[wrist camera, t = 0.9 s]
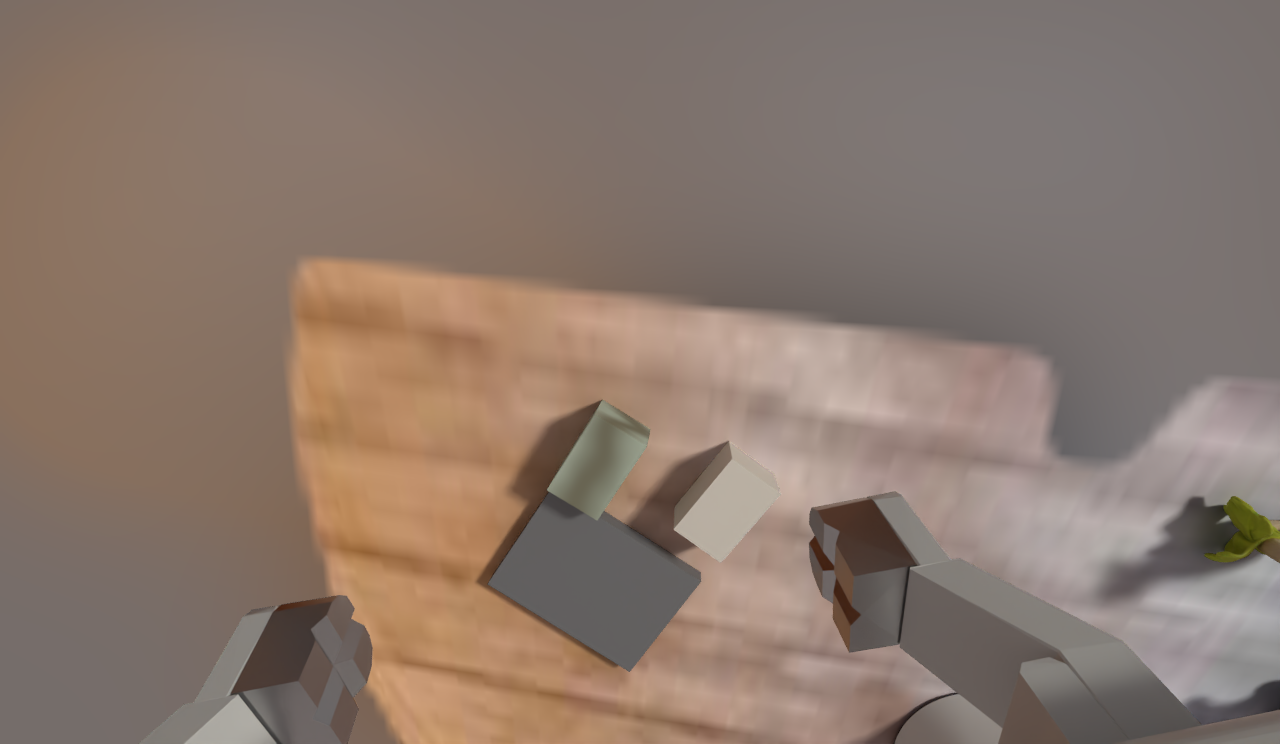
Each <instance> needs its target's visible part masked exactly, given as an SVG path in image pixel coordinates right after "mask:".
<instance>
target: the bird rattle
mask: <svg viewBox="0 0 1280 744" xmlns="http://www.w3.org/2000/svg"><path fill="white" fill-rule="evenodd" d="M1223 508H1224V511H1225V513H1226V514H1227V515H1228V516H1229V517H1230V519H1231V521H1232V523H1233V524H1234V526H1235V527H1236V528H1237V529H1239V530H1240V531H1238V532H1236V533H1235V534H1234V535H1233V537H1232V539H1231V540H1230V541H1229V542H1228V543H1227V544H1226V546H1225V549H1224V551H1223V552H1218V553H1216V554H1213V553H1206V554H1204V556H1205V557H1207V558H1208V559H1210V560H1213V561H1218V562H1234V561H1236V560H1239V559H1242V558H1245V557H1247V556H1249V555H1250V554H1251V552H1252V551H1253V550H1254V549H1256V550H1257V551H1258V552H1260V553H1262V554H1266V555H1267V556H1269V557H1270V558H1272V559H1274V560H1275V561H1277V562H1279V563H1280V521H1279V520H1268V519H1267V518H1266V517H1265V516H1261V515H1259V514H1258V513H1257V512H1255V511H1254V510H1253V508H1252V507H1251V506H1250V505H1249V504H1247V503H1246V502H1244V501H1243V500H1241V499H1240V498H1238V497H1236V496H1232V497H1231V499H1230V500H1229V501H1228V503H1227V505H1224V506H1223Z"/></svg>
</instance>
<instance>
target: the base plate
mask: <svg viewBox="0 0 1280 744" xmlns="http://www.w3.org/2000/svg"><path fill="white" fill-rule="evenodd" d="M700 582H701V572H699V571H698V570H696V569H695V568H693V567H691V566H690V565H688V564H687V563H685V562H684V561H682V560H680V559H679V558H677V557H676V556H674V555H672V554H671V553H669V552H668V551H666V550H665V549H663V548H661V547H660V546H658V545H657V544H655V543H654V542H652V541H650V540H649V539H647V538H646V537H644V536H643V535H641V534H639V533H638V532H636V531H635V530H633V529H632V528H630V527H628V526H627V525H625V524H624V523H622V522H621V521H619V520H617V519H616V518H614V517H613V516H611V515H610V514H608V513H606V512H605V511H603V513H602V514H601V516H600V517H599V519H598V520H595V519H594V518H592V517H590V516H589V515H587V514H585V513H584V512H582V511H580V510H579V509H577V508H575V507H574V506H572V505H571V504H569V503H567V502H566V501H564V500H562V499H561V498H559V497H557V496H556V495H554V494H552V493H551V492H548V494H547V495H546V497H545V498H544V500H543V501H542V503H541V504H540V506H539V507H538V508H537V510H536V511H535V513H534V514H533V516H532V517H531V519H530V520H529V522H528V523H527V525H526V526H525V528H524V529H523V531H522V532H521V534H520V535H519V537H518V538H517V540H516V541H515V543H514V544H513V546H512V547H511V549H510V550H509V552H508V553H507V555H506V556H505V558H504V559H503V561H502V562H501V564H500V565H499V567H498V568H497V570H496V571H495V573H494V574H493V576H492V577H491V579H490V581H489V583H488V585H490V586H491V587H493V588H494V589H496V590H498V591H499V592H501V593H503V594H504V595H506V596H507V597H509V598H511V599H512V600H514V601H516V602H517V603H519V604H520V605H522V606H524V607H525V608H527V609H528V610H530V611H532V612H533V613H535V614H537V615H538V616H540V617H541V618H543V619H545V620H546V621H548V622H550V623H551V624H553V625H554V626H556V627H558V628H559V629H561V630H562V631H564V632H566V633H567V634H569V635H571V636H572V637H574V638H575V639H577V640H579V641H580V642H582V643H583V644H585V645H587V646H588V647H590V648H592V649H593V650H595V651H596V652H598V653H600V654H601V655H603V656H605V657H606V658H608V659H609V660H611V661H613V662H614V663H616V664H617V665H619V666H621V667H622V668H624V669H626V670H627V671H629V672H630V671H631V670H632V668H633V667H634V666H635V665H636V663H637V662H638V661H639V660H640V658H641V657H642V656H643V655H644V653H645V652H646V651H647V649H648V648H649V647H650V646H651V644H652V643H653V642H654V641H655V639H656V638H657V637H658V635H659V634H660V633H661V632H662V630H663V629H664V628H665V627H666V625H667V624H668V623H669V622H670V620H671V619H672V618H673V616H674V615H675V614H676V613H677V611H678V610H679V609H680V608H681V606H682V605H683V604H684V603H685V601H686V600H687V599H688V597H689V596H690V595H691V594H692V592H693V591H694V590H695V589H696V587H697V586H698V585H699V583H700Z"/></svg>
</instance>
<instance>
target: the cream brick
mask: <svg viewBox="0 0 1280 744" xmlns="http://www.w3.org/2000/svg"><path fill="white" fill-rule="evenodd" d="M780 495H781V492H780V489H779V486H778V483H777V481H776V478H775V475H774V473H773V472H772V471H770V470H769V469H767V468H766V467H765V466H763V465H762V464H760V463H759V462H758V461H756V460H755V459H754V458H752V457H751V456H749V455H748V454H747V453H745V452H744V451H742V450H741V449H740V448H738V447H737V446H736V445H734V444H733V443H731V442H730V441H728V442H727V444H726V445H725V446H724V447H723V448H722V450H721V451H720V452H719V453H718V455H717V456H716V457H715V458H714V459H713V461H712V462H711V463H710V464H709V465H708V467H707V468H706V469H705V470H704V472H703V473H702V474H701V475H700V476H699V478H698V479H697V480H696V481H695V482H694V484H693V485H692V486H691V487H690V489H689V490H688V491H687V492H686V493H685V495H684V496H683V497H682V498H681V500H680V501H679V502H678V503H677V504H676V506H675V511H674V529H673V530H675V531H676V532H678V533H679V534H680V535H682V536H683V537H685V538H686V539H688V540H689V541H690V542H692V543H693V544H695V545H696V546H697V547H699V548H700V549H702V550H703V551H705V552H706V553H707V554H709V555H710V556H712V557H713V558H715V559H716V560H717V561H719V562H720V563H721V562H722V561H723V560H724V559H725V558H726V557H727V556H728V554H729V553H730V552H731V551H732V550H733V549H734V547H735V546H736V545H737V544H738V543H739V542H740V541H741V539H742V538H743V537H744V536H745V535H746V534H747V533H748V531H749V530H750V529H751V528H752V527H753V526H754V525H755V523H756V522H757V521H758V520H759V519H760V518H761V517H762V515H763V514H764V513H765V512H766V511H767V510H768V509H769V507H770V506H771V505H772V504H773V503H774V502H775V501H776V499H777V498H778V497H779V496H780Z"/></svg>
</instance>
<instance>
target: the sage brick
mask: <svg viewBox="0 0 1280 744" xmlns="http://www.w3.org/2000/svg"><path fill="white" fill-rule="evenodd" d="M649 434H650V429H649V428H648V427H646V426H644V425H643V424H641V423H640V422H638V421H636V420H635V419H633V418H631V417H630V416H628V415H627V414H625V413H623V412H622V411H620V410H619V409H617V408H615V407H614V406H612V405H610V404H609V403H607V402H606V401H604V400H602V401H601V403H600V404H599V406H598V407H597V409H596V411H595V412H594V414H593V415H592V417H591V418H590V420H589V422H588V423H587V425H586V426H585V428H584V430H583V431H582V433H581V434H580V436H579V437H578V439H577V441H576V442H575V444H574V445H573V447H572V449H571V450H570V452H569V453H568V455H567V456H566V458H565V460H564V461H563V463H562V464H561V466H560V467H559V469H558V471H557V473H556V474H555V476H554V478H553V480H552V482H551V483H550V485H549V487H548V489H547V491H549V492H551V493H552V494H554V495H556V496H557V497H559V498H561V499H562V500H564V501H566V502H567V503H569V504H571V505H572V506H574V507H575V508H577V509H579V510H580V511H582V512H584V513H585V514H587V515H589V516H590V517H592V518H594V519H595V520H598V519H599V517H600V516H601V514H602V513H603V511H604V510H605V508H606V507H607V505H608V504H609V502H610V501H611V499H612V498H613V496H614V495H615V493H616V492H617V490H618V489H619V487H620V486H621V484H622V483H623V481H624V480H625V478H626V477H627V475H628V474H629V472H630V471H631V470H632V468H633V467H634V465H635V464H636V462H637V461H638V459H639V458H640V456H641V455H642V453H643V452H644V450H645V449H646V447H647V444H648V439H649Z"/></svg>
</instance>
